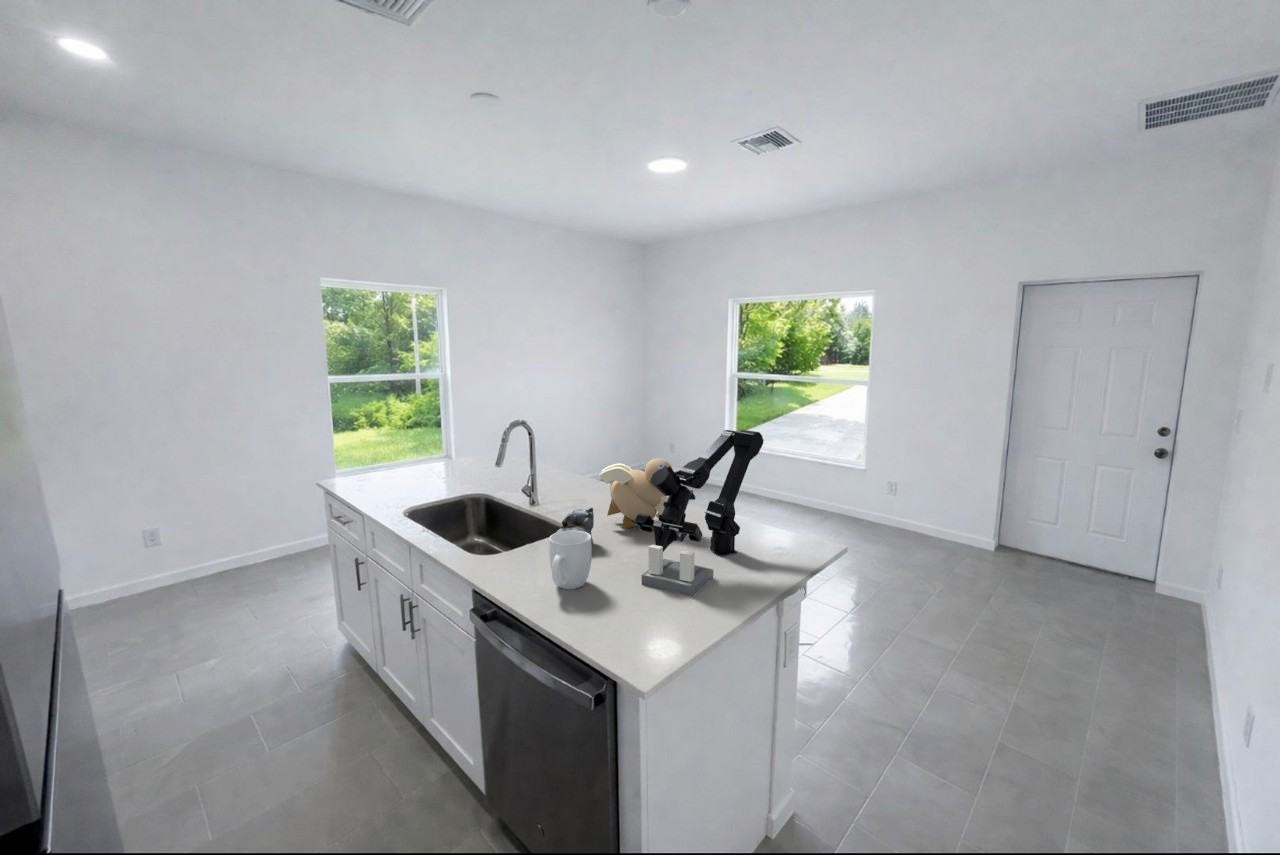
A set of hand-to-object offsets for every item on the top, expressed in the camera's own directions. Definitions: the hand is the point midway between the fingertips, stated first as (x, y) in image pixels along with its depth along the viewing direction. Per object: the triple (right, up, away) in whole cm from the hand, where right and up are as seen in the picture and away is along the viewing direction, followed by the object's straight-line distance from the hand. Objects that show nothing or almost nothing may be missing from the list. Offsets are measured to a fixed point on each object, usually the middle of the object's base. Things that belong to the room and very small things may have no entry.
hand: (657, 555), depth 144 cm
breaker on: (+7, -5, -5) cm, 10 cm away
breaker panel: (+6, -7, +1) cm, 9 cm away
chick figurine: (-6, -1, +49) cm, 49 cm away
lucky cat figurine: (-26, -4, +28) cm, 38 cm away
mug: (-23, -8, -2) cm, 25 cm away
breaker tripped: (-1, -4, -1) cm, 5 cm away
